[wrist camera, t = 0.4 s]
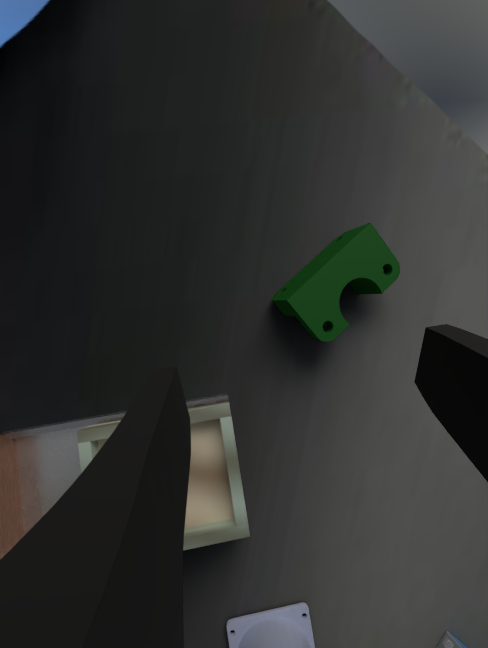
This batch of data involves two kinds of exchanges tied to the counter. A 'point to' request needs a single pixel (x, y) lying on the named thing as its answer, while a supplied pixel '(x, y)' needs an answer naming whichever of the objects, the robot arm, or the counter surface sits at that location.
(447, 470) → the counter surface
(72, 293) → the counter surface
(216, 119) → the counter surface
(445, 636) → the label tape box
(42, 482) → the rail
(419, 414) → the counter surface
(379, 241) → the clamp
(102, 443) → the shallow open tray
